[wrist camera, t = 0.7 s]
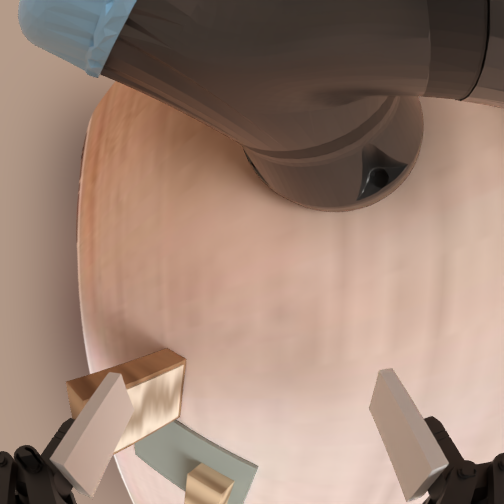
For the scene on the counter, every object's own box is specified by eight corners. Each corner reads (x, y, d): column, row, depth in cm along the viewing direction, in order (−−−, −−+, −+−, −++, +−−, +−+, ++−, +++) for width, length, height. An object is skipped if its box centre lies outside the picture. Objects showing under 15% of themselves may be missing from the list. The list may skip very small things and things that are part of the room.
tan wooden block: (201, 462, 28) (187, 474, 26) (234, 480, 26) (221, 494, 24) (196, 496, 30) (183, 506, 27) (223, 512, 27) (212, 524, 25)
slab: (167, 348, 31) (66, 381, 19) (187, 359, 29) (83, 401, 17) (162, 405, 32) (79, 445, 20) (180, 417, 30) (96, 464, 18)
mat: (135, 390, 34) (132, 391, 34) (258, 466, 25) (256, 468, 25) (137, 453, 36) (135, 454, 36) (236, 518, 27) (235, 519, 26)
